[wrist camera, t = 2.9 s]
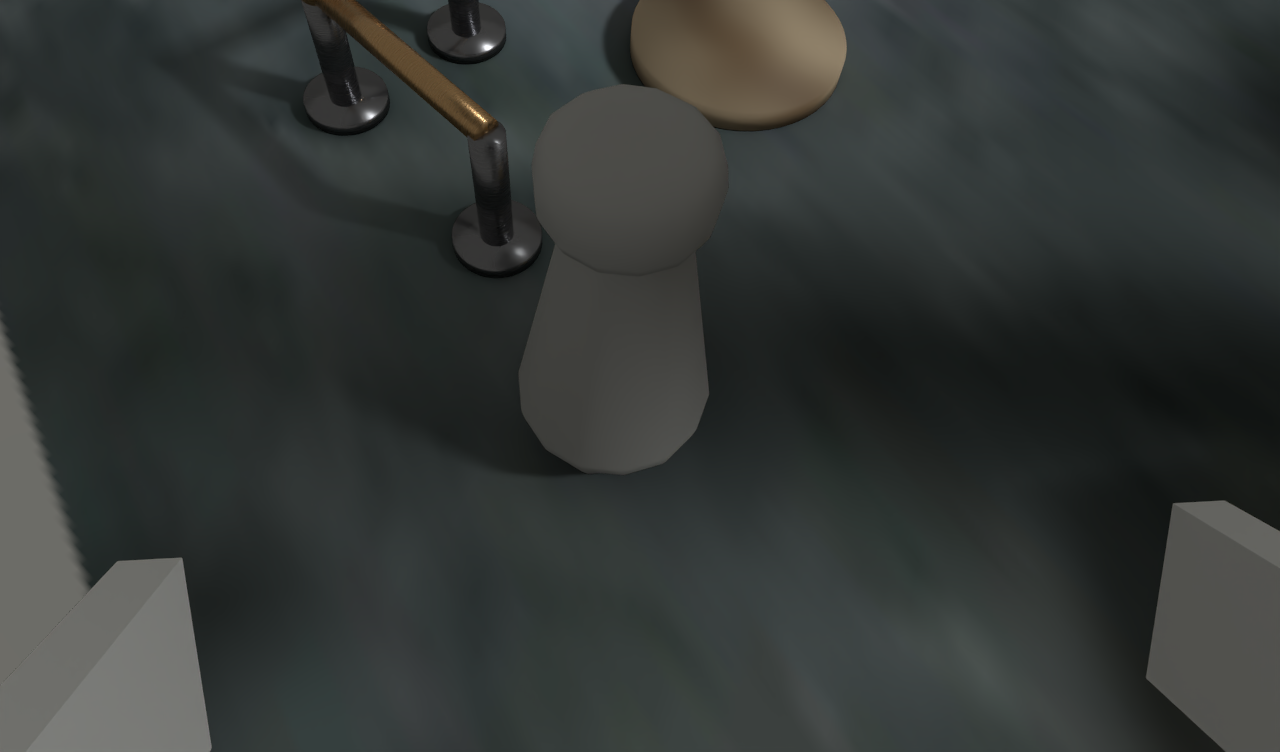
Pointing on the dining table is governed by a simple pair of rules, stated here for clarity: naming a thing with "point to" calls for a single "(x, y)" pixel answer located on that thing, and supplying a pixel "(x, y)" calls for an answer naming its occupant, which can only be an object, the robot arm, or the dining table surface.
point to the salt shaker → (621, 278)
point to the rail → (358, 101)
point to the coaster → (740, 57)
